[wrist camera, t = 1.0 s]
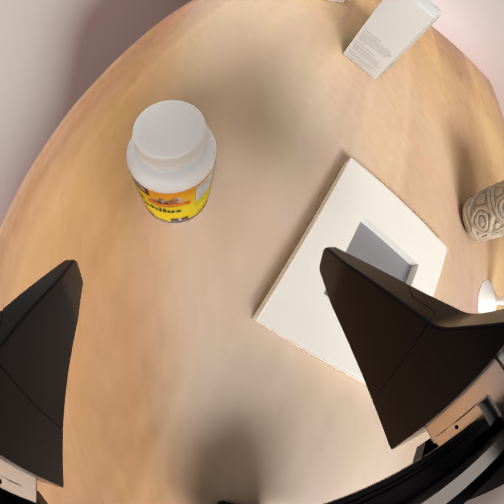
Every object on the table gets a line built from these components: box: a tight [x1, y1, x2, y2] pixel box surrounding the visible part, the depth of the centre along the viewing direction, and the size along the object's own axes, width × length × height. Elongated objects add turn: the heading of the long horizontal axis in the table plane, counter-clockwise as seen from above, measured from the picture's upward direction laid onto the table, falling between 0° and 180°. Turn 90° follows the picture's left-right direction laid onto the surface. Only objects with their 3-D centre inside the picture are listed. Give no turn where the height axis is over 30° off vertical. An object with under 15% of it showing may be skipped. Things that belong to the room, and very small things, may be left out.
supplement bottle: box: [126, 100, 217, 224], centre depth 18 cm, size 6×6×10 cm
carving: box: [462, 180, 504, 242], centre depth 25 cm, size 6×8×12 cm
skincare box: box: [343, 0, 443, 80], centre depth 24 cm, size 8×7×16 cm
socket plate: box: [252, 158, 447, 385], centre depth 24 cm, size 18×16×2 cm
